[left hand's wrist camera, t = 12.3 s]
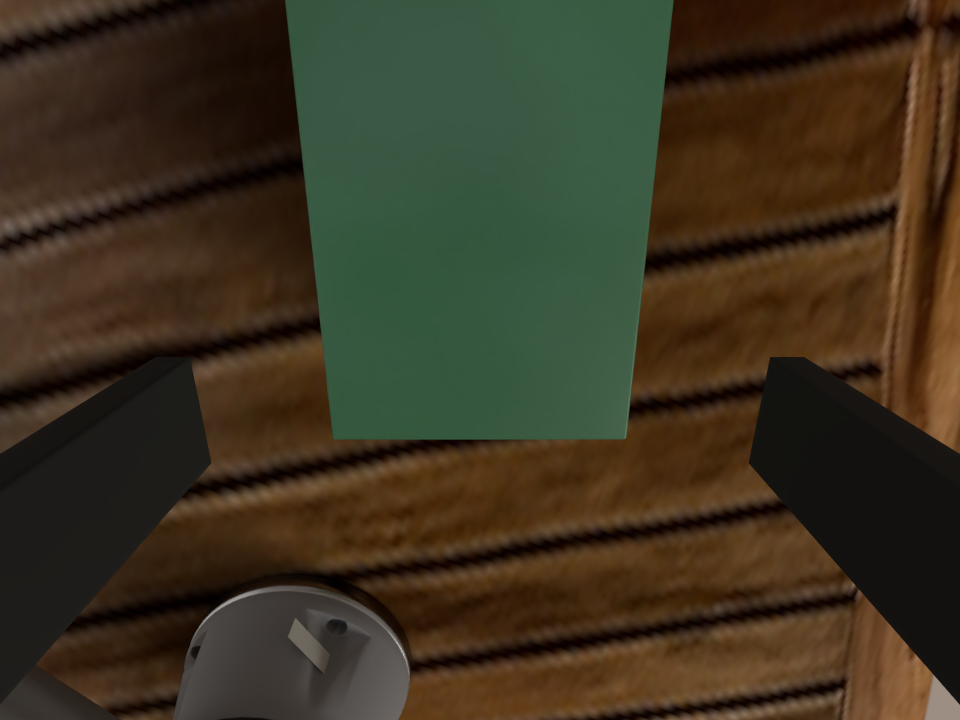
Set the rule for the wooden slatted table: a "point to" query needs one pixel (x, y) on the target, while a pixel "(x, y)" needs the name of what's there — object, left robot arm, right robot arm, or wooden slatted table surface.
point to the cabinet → (479, 209)
